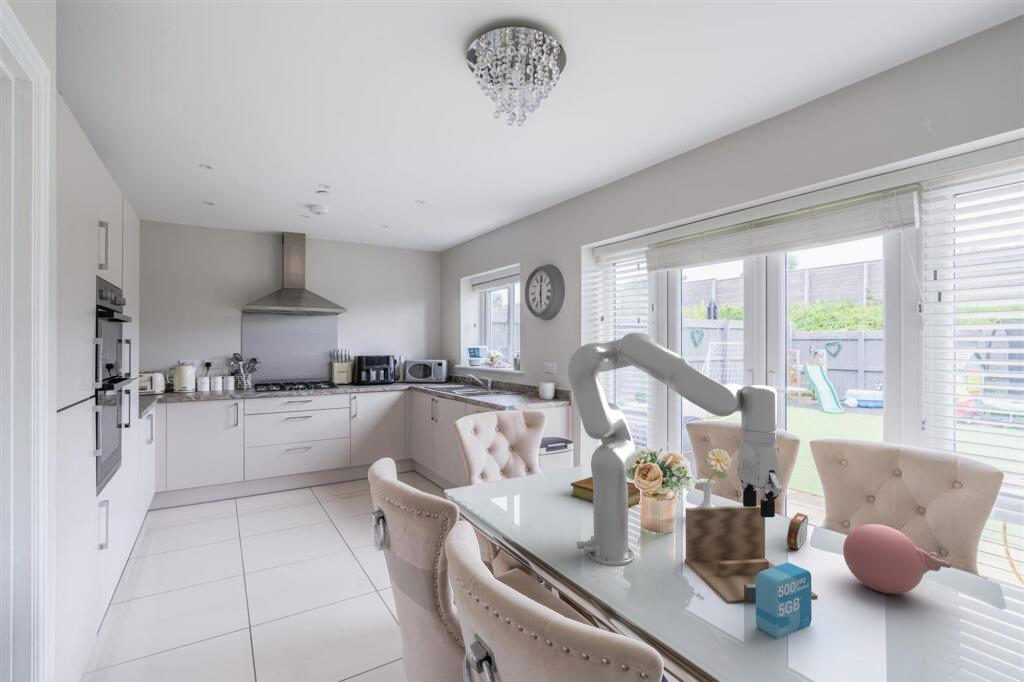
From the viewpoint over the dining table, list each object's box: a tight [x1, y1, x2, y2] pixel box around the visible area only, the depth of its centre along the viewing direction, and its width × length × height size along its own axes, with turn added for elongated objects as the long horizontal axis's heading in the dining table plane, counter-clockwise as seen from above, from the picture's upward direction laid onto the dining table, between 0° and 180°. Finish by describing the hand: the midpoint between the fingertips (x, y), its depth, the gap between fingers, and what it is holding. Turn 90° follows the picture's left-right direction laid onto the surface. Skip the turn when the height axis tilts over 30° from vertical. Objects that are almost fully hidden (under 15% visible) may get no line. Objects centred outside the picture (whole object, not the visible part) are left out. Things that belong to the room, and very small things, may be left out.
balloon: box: [842, 523, 952, 595], centre depth 113 cm, size 15×20×15 cm
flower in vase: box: [695, 447, 732, 508], centre depth 157 cm, size 13×11×25 cm
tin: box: [786, 512, 809, 551], centre depth 140 cm, size 15×3×8 cm, turn 137°
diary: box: [570, 476, 640, 509], centre depth 182 cm, size 23×19×6 cm
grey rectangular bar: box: [744, 584, 756, 601], centre depth 109 cm, size 13×2×3 cm, turn 96°
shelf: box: [684, 504, 818, 605], centre depth 119 cm, size 22×21×15 cm
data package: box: [755, 562, 813, 640], centre depth 99 cm, size 12×4×12 cm, turn 117°
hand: (758, 510), depth 113 cm, fingers open, 6 cm apart
